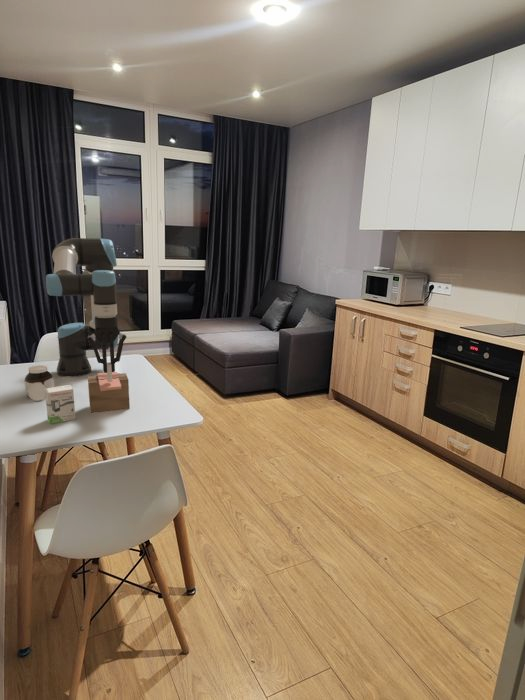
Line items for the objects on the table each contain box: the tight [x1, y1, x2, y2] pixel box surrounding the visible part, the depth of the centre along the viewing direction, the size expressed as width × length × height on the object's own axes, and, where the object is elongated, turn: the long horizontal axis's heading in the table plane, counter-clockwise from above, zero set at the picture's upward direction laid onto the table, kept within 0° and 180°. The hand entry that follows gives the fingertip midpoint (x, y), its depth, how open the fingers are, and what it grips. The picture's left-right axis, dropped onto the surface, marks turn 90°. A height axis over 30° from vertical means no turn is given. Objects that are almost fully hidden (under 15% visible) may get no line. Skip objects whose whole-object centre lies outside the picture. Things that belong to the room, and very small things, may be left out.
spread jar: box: [24, 364, 55, 402], centre depth 176 cm, size 12×11×12 cm
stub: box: [99, 378, 122, 391], centre depth 158 cm, size 10×7×1 cm
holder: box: [87, 371, 131, 414], centre depth 167 cm, size 8×14×13 cm, turn 113°
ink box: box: [45, 384, 77, 425], centre depth 155 cm, size 9×5×12 cm, turn 125°
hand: (109, 380), depth 157 cm, fingers closed
